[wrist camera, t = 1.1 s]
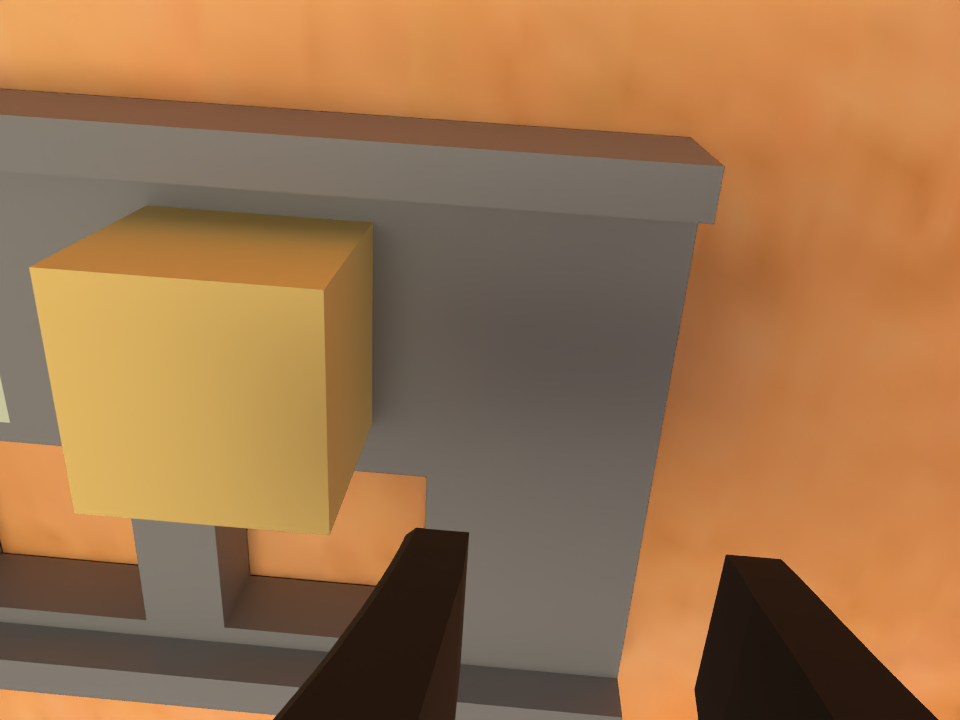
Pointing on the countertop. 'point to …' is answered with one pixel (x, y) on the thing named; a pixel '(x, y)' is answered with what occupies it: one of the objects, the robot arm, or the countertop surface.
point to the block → (211, 366)
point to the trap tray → (380, 387)
